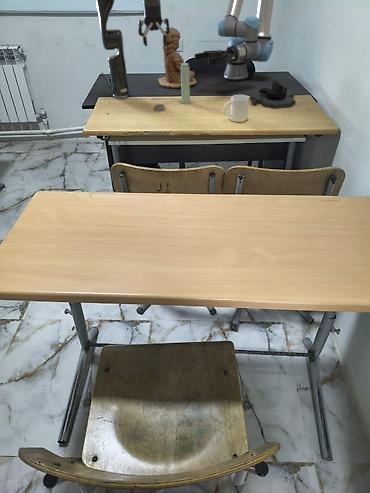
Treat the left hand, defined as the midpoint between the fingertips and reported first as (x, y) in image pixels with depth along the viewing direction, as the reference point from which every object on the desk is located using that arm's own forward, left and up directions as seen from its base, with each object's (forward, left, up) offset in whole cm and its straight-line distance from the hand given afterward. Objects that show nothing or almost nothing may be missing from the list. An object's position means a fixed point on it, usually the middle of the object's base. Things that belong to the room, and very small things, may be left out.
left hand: (155, 45), depth 169 cm
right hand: (-3, +27, -10) cm, 29 cm away
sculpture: (-39, +28, -30) cm, 56 cm away
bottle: (-3, +17, -30) cm, 35 cm away
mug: (+32, +26, -30) cm, 51 cm away
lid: (0, 0, -28) cm, 28 cm away
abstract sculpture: (+20, +58, -30) cm, 69 cm away
